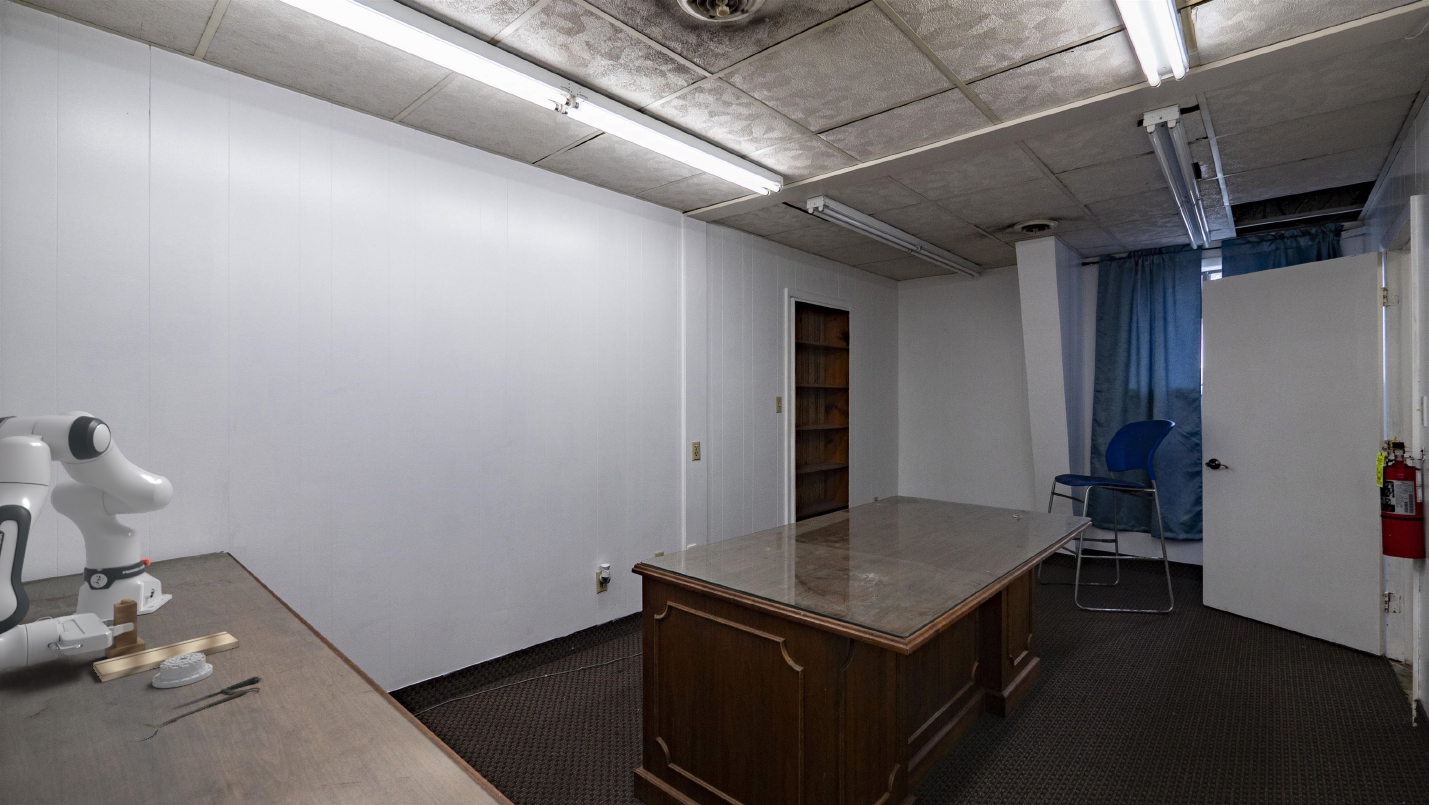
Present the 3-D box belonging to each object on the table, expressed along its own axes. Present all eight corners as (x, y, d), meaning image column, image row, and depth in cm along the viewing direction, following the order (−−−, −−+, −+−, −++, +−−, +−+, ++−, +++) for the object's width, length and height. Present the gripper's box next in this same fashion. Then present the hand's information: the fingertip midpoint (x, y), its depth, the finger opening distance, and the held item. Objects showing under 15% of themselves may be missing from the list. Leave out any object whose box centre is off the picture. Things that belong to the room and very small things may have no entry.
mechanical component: (139, 687, 132) (177, 691, 130) (139, 666, 132) (177, 670, 130) (188, 667, 141) (224, 671, 139) (188, 647, 141) (224, 651, 139)
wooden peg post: (110, 661, 143) (110, 605, 143) (104, 655, 146) (105, 600, 146) (145, 653, 147) (145, 599, 147) (139, 647, 151) (139, 594, 151)
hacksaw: (258, 680, 135) (258, 673, 135) (283, 691, 130) (283, 684, 130) (110, 731, 114) (110, 723, 114) (133, 747, 109) (133, 738, 109)
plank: (102, 681, 133) (102, 674, 133) (93, 669, 139) (93, 662, 139) (238, 646, 152) (238, 640, 152) (225, 637, 158) (225, 631, 158)
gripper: (52, 638, 130) (141, 619, 141) (38, 616, 143) (120, 601, 154) (52, 668, 130) (141, 647, 141) (38, 644, 143) (120, 626, 154)
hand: (130, 623), depth 148 cm, fingers closed on wooden peg post, 3 cm apart
